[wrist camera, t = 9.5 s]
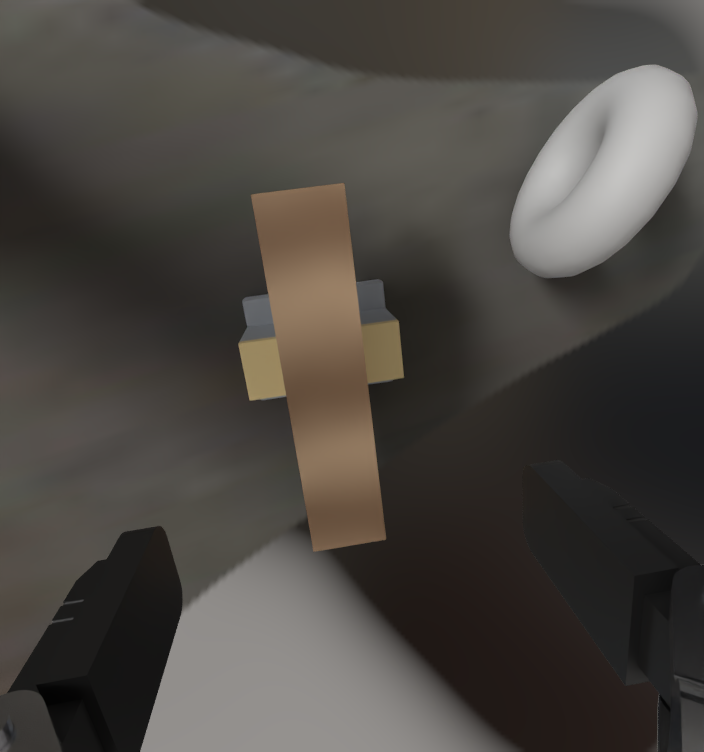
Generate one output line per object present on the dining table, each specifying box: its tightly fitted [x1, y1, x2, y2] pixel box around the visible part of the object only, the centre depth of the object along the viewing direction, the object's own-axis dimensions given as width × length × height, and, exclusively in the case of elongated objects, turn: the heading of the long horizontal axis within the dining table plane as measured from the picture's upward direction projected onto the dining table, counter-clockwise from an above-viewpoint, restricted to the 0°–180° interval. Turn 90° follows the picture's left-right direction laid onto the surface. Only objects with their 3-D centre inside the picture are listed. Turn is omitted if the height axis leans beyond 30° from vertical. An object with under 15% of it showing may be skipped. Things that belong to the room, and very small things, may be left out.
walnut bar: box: [251, 183, 386, 552], centre depth 22 cm, size 16×4×4 cm, turn 7°
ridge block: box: [238, 279, 404, 401], centre depth 27 cm, size 6×8×6 cm
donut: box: [509, 65, 698, 278], centre depth 23 cm, size 10×4×10 cm, turn 155°
